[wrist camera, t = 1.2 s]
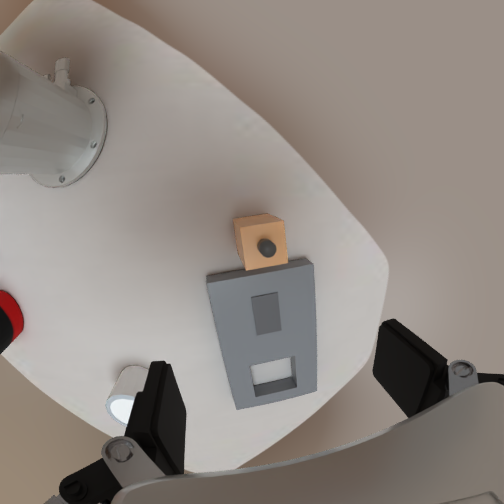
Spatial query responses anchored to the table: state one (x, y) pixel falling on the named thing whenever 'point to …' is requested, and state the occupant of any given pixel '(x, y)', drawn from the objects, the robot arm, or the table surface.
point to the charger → (260, 241)
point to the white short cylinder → (125, 393)
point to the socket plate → (266, 328)
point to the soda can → (9, 320)
